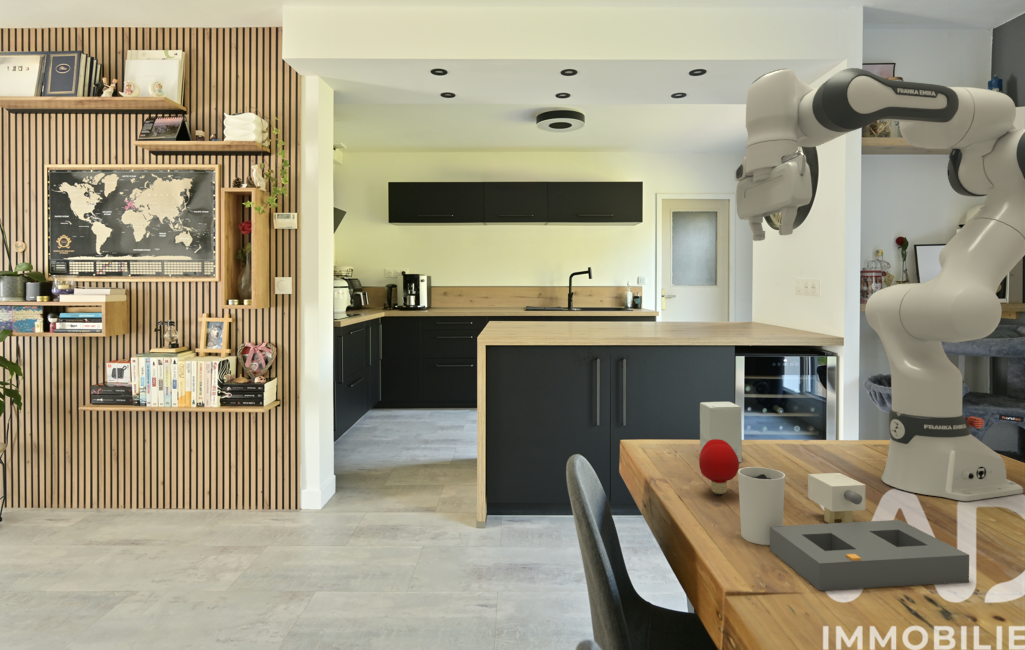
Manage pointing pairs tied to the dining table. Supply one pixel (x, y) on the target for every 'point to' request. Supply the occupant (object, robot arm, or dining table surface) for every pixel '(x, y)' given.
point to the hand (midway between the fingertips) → (771, 237)
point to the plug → (836, 495)
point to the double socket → (867, 555)
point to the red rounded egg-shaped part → (718, 464)
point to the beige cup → (760, 502)
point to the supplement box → (721, 424)
